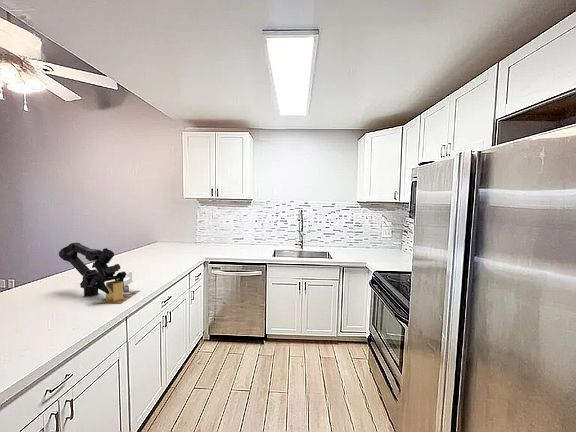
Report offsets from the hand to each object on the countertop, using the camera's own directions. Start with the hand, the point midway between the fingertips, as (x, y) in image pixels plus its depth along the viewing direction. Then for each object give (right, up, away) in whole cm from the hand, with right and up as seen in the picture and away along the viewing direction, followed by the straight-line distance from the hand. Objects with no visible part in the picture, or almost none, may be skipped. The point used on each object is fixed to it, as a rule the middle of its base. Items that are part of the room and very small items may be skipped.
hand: (116, 291), depth 188 cm
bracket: (-16, -4, +41) cm, 44 cm away
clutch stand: (-2, -6, +8) cm, 10 cm away
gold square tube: (-1, -5, +1) cm, 5 cm away
